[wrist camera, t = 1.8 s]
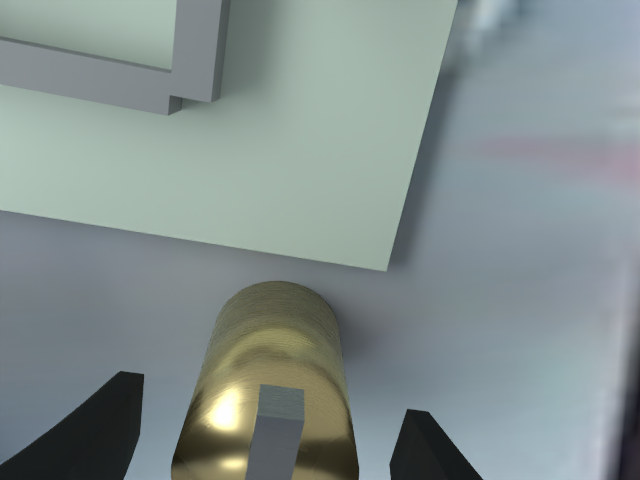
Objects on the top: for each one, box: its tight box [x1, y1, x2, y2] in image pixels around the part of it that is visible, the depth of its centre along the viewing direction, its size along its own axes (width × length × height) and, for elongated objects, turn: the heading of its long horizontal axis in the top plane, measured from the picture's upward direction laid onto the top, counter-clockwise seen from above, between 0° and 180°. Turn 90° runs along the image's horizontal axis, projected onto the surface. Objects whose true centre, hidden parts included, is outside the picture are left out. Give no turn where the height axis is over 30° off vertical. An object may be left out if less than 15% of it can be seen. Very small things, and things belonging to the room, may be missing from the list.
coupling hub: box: [171, 281, 359, 480], centre depth 13 cm, size 5×4×7 cm
